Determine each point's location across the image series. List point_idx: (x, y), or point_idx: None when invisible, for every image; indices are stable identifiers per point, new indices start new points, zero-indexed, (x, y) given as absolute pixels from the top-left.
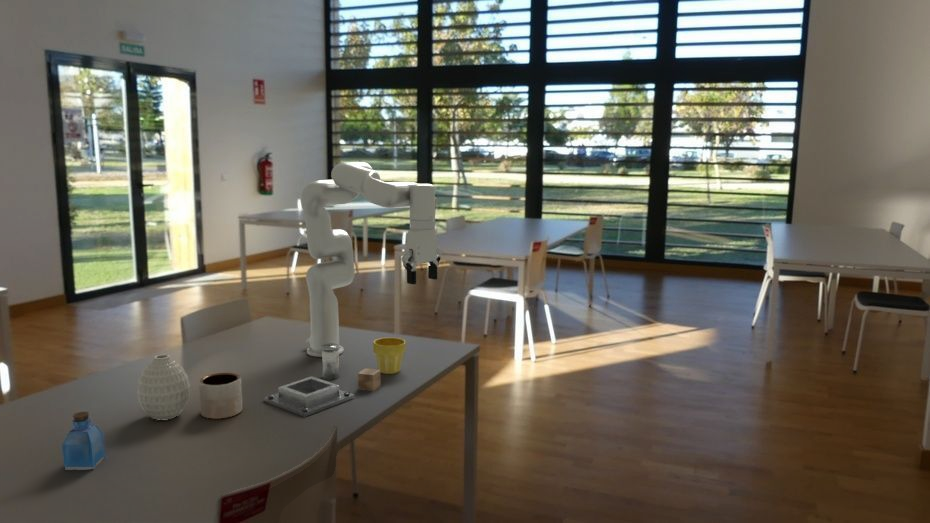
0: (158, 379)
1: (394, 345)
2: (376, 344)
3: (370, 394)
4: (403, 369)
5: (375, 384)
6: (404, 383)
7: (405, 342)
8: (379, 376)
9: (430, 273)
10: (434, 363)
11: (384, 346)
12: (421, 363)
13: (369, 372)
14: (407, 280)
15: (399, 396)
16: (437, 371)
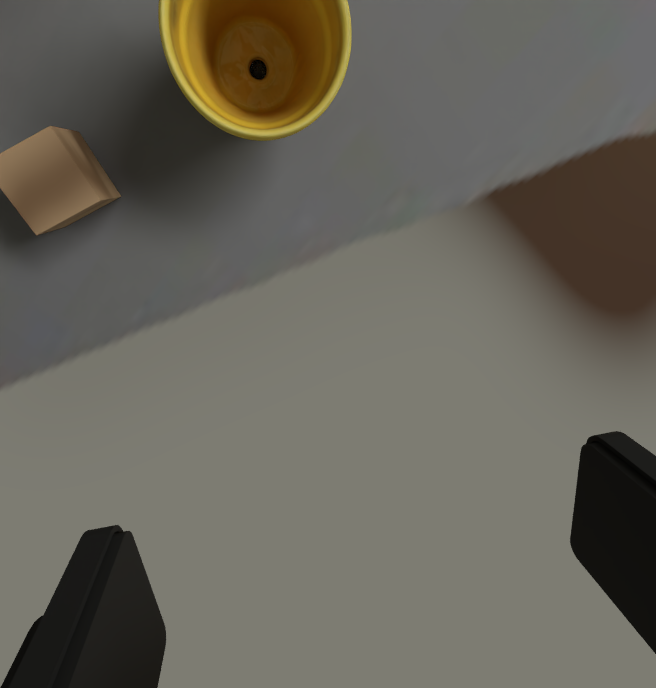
0: None
1: (322, 4)
2: (159, 19)
3: (36, 248)
4: None
5: (73, 220)
6: (210, 243)
7: (323, 111)
8: (100, 203)
9: (636, 532)
10: (451, 142)
11: (180, 88)
12: (417, 100)
13: (38, 192)
14: (76, 567)
15: (119, 331)
16: (388, 226)
